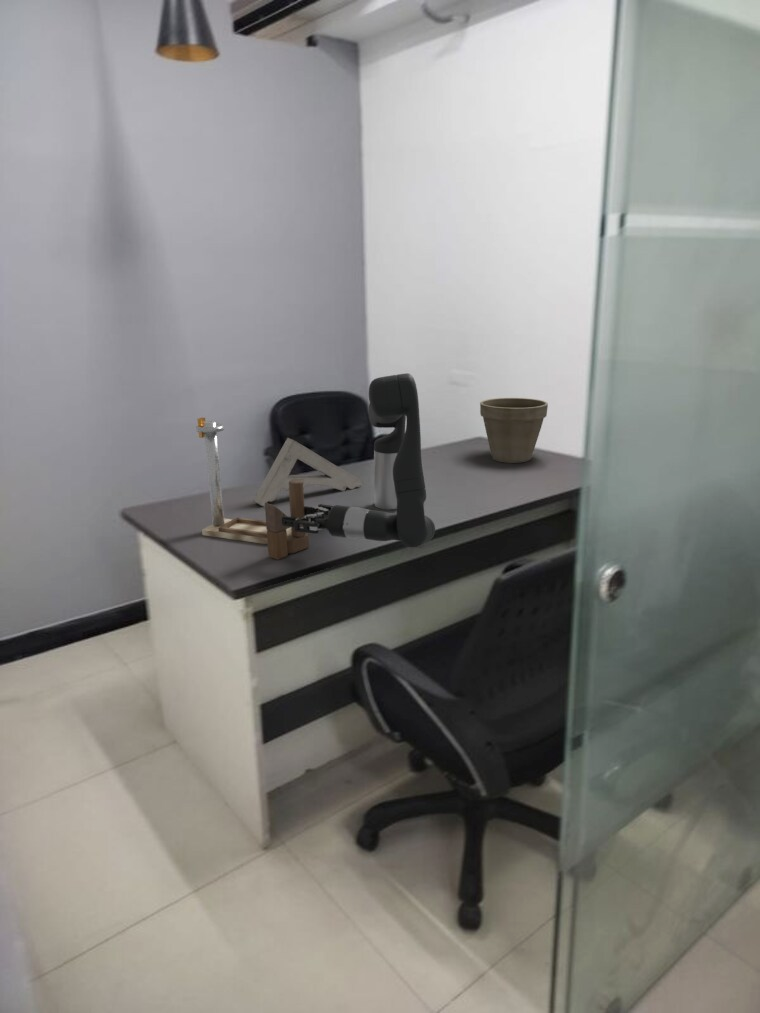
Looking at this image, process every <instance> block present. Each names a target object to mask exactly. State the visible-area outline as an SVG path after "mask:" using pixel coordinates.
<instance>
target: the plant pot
mask: <svg viewBox="0 0 760 1013" xmlns="http://www.w3.org/2000/svg"><path fill="white" fill-rule="evenodd" d="M479 405H480V408H479V409H480V410H479V412H480V416H481V417H482V418H483V424H484V427H485V434H486V436H487V442H488V445H489V451H490V455H491V458H492V459H493V460H494V461H496V462H500V463H508V464H518V463H525V462H529V461H530V460H531V459H532V457H533V454H534V451H535V448H536V445H537V442H538V439H539V436H540V432H541V429H542V426H543V423H544V419H545V418H546V417H547V414H548V408H549V407H548V405H549V404H548V402H547V401H544V400H541V399H536V398H527V397H526V398H525V397H500V398H499V397H498V398H489V399H485V400H482V401H480V402H479Z"/></svg>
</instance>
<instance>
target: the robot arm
mask: <svg viewBox="0 0 760 1013" xmlns="http://www.w3.org/2000/svg"><path fill="white" fill-rule="evenodd" d="M368 400H369V404H368V419H369V422H370V424H371V425H372V427H374V428H379V429H382V428H388V429H389V428H394V429H393V431H391V432H390V433H389V434H387V435H384V436H382V437H379V438H377V439H375V441H374V442H373V453H374V454H373V465H374V467H373V468H374V470H373V472H374V473H373V474H374V482H373V483H374V499H373V500H374V506H375V507H376V508H378V509H381V510H396V512H386V511H381V510H374V509H373V510H372V509H367V508H363V507H359V506H358V507H355V506H349V505H347V506H346V505H337V504H336V505H331V504H324V503H323V504H322V503H320V504H318V505H313V506H306V505H304V512H305V517H299V518H297V517H291V516H288V515H286V516H284V517H282V524H283V525H284V526H292V527H295V531H296V532H305V533H306V534H319V531H321V530H325V529H326V530H327V531H328V533H329V534H330V535H331V536H332V537H339V538H347V539H354V540H369V541H377V542H389V541H400V542H401V543H402V544H403V545H405V547H408V548H418V547H421V546H422V545H425V544H427V543H428V542H430V541H431V540H432V539H433V537H434V536H435V533H436V526H435V523H434V521H433V520H432V518H430V517H429V516H427V515H425V507H424V506H425V502H426V500H427V489H426V482H425V476H424V470H423V463H422V444H421V442H422V439H421V438H422V437H421V436H422V435H421V421H420V420H421V418H420V405H419V403H420V402H419V395H418V388H417V384H416V381H415V379H414V377H413V375H412V374H411V373H400V374H392V375H386V376H380V377H376V378H374V379H373V380H372V381H371V382H370V383H369V386H368ZM304 520H305V521H304ZM301 524H302V525H301ZM302 528H303V529H302Z"/></svg>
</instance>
